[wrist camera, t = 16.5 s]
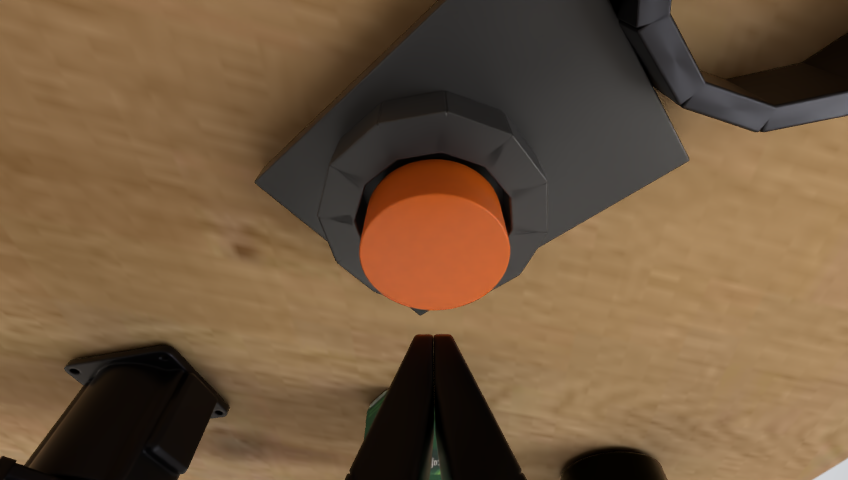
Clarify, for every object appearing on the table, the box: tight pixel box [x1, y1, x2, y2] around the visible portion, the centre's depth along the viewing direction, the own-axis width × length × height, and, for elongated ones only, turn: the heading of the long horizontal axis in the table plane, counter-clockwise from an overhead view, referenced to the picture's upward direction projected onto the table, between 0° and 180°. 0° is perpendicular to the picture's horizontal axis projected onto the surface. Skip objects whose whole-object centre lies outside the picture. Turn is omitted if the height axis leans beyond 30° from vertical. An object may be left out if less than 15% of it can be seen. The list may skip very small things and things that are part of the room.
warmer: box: [255, 0, 689, 315], centre depth 14 cm, size 12×9×3 cm
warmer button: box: [359, 159, 510, 310], centre depth 13 cm, size 4×4×2 cm
